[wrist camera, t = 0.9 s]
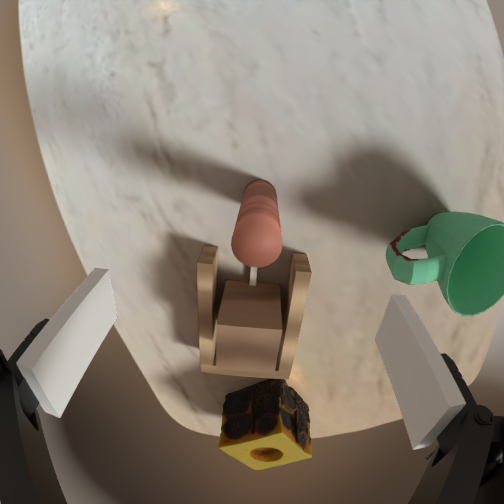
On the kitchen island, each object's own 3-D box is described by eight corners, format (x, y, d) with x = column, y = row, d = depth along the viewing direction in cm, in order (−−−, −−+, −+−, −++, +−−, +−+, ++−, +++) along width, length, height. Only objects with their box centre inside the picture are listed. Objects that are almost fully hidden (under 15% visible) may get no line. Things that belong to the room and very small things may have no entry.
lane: (204, 245, 33) (196, 262, 29) (306, 254, 33) (311, 272, 29) (205, 350, 39) (200, 372, 36) (287, 357, 39) (288, 379, 36)
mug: (476, 193, 28) (529, 223, 19) (462, 266, 32) (503, 310, 23) (369, 189, 29) (409, 223, 20) (362, 273, 33) (390, 328, 24)
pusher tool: (230, 177, 29) (209, 216, 19) (292, 182, 29) (307, 225, 18) (224, 321, 37) (211, 397, 26) (273, 325, 37) (274, 403, 26)
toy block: (281, 373, 41) (282, 431, 32) (310, 405, 44) (315, 457, 35) (222, 393, 44) (215, 447, 34) (257, 423, 47) (255, 471, 38)
